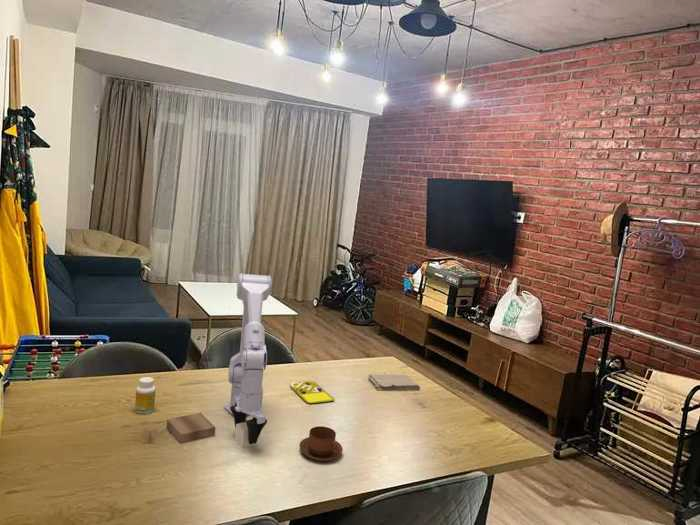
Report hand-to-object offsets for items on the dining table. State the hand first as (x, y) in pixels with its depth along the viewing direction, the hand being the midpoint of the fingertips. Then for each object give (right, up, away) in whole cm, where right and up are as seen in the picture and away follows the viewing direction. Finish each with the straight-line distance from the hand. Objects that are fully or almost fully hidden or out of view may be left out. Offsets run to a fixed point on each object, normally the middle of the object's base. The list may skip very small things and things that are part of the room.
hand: (246, 436), depth 144 cm
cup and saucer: (+21, -5, 0) cm, 21 cm away
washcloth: (+46, 0, +58) cm, 73 cm away
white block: (0, -2, 0) cm, 2 cm away
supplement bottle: (-33, +4, +11) cm, 35 cm away
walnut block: (-16, 0, +2) cm, 16 cm away
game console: (+15, +1, +40) cm, 43 cm away
